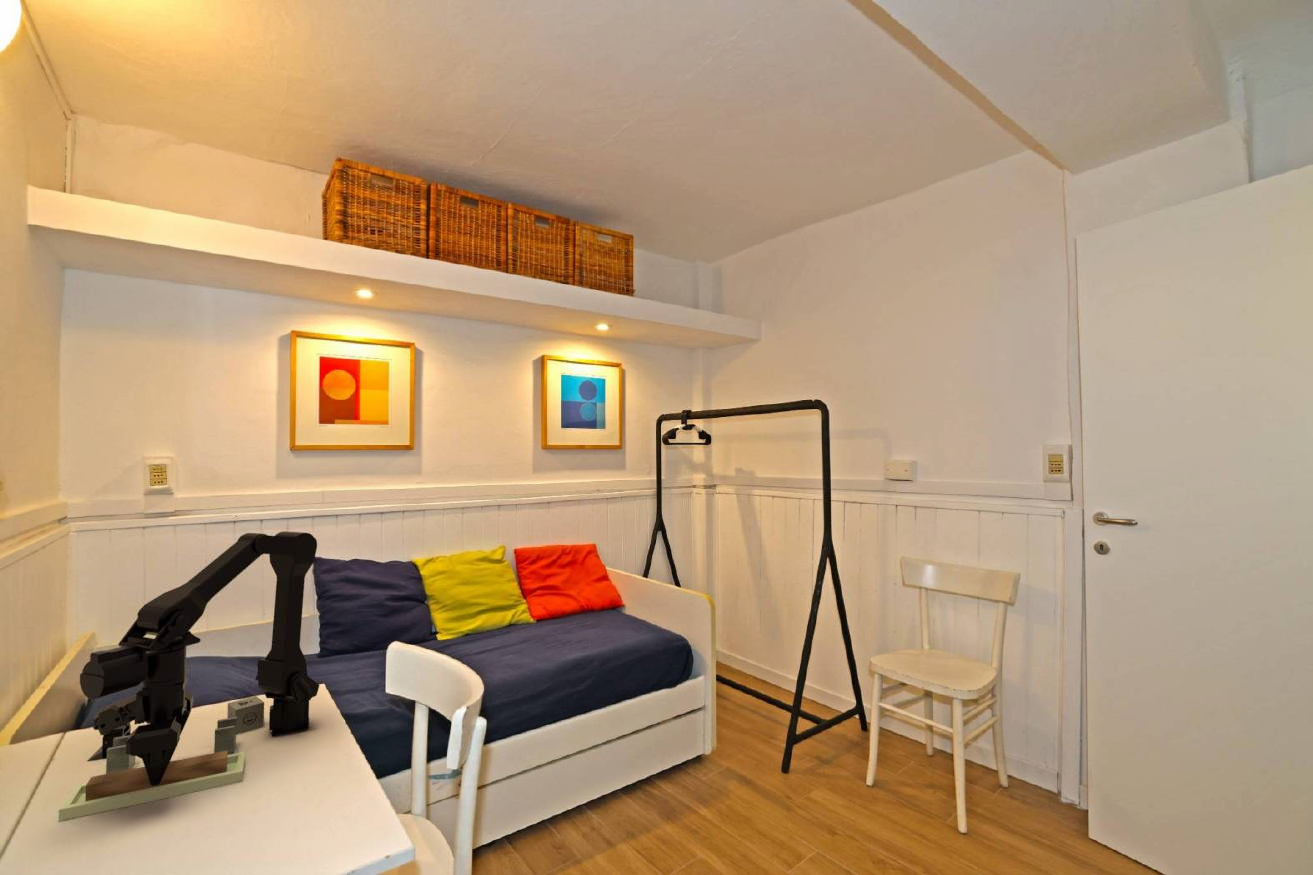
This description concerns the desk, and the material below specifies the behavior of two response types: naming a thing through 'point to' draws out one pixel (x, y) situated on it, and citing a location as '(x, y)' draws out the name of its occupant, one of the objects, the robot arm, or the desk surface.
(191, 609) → the robot arm
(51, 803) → the desk surface
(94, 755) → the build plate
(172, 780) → the rail
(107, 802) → the tray
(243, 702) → the dice cube
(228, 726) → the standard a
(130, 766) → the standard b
